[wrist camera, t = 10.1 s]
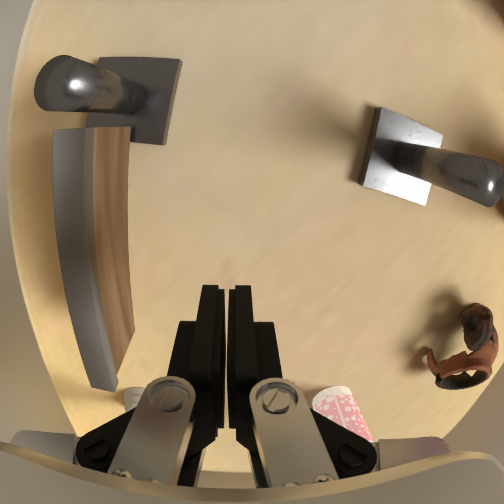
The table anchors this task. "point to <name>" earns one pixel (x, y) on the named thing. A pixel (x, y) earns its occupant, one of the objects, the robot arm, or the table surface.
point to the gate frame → (161, 103)
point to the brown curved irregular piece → (484, 353)
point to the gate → (95, 244)
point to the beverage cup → (341, 410)
